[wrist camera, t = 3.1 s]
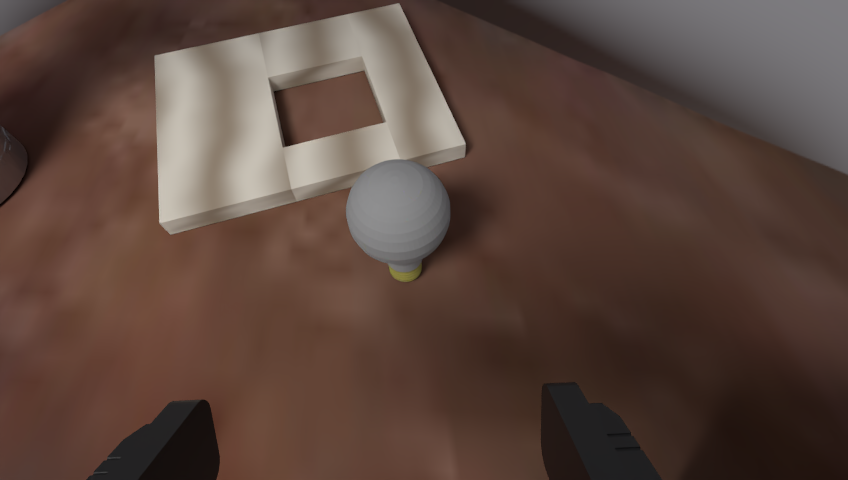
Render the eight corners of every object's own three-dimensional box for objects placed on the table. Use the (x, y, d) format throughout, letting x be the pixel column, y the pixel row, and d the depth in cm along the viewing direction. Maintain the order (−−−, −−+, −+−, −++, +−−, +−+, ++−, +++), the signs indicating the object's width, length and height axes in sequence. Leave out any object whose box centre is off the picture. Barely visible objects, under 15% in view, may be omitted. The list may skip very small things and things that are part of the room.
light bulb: (436, 319, 29) (436, 239, 20) (354, 300, 30) (320, 215, 21) (455, 246, 32) (462, 147, 23) (379, 229, 33) (358, 128, 24)
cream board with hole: (170, 234, 33) (159, 223, 31) (163, 69, 42) (154, 55, 40) (464, 157, 36) (465, 143, 34) (400, 18, 44) (399, 3, 43)
